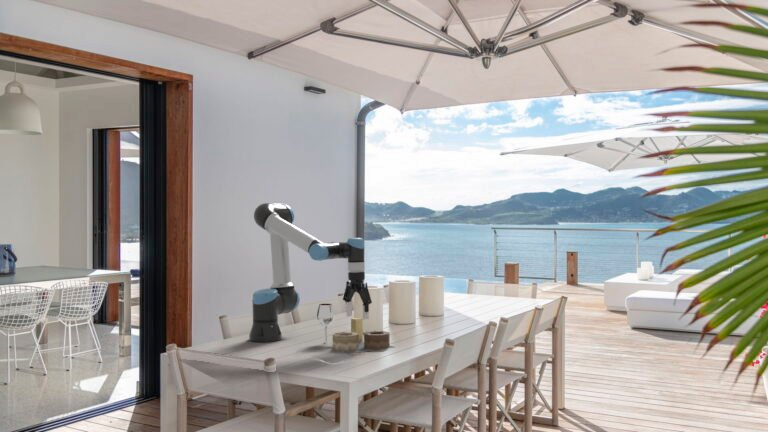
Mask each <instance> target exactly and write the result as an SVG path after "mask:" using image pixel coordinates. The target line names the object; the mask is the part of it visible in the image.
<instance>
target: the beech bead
mask: <svg viewBox="0 0 768 432" xmlns="http://www.w3.org/2000/svg"><path fill="white" fill-rule="evenodd" d="M359 343H360V342H359V335H358V333H354V332H351V331H342V332H335V333H333V334H332V347H333V349H332V350H334V349H335V351H338V350H345V351H349V350H355V349H357V348H358V347H359Z"/></svg>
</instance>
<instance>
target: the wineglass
mask: <svg viewBox="0 0 768 432" xmlns="http://www.w3.org/2000/svg"><path fill="white" fill-rule="evenodd" d="M335 316H336V315H335V311H334V308H333V304H332V303H320V304H319V305H318V307H317V312H316V320H317V322H318V323H319V324H321V325H322V326H323V328H324V342H323V344H328V341H327V340H328V337H327V335H328V334H327V332H328V331H327V329H328V327H329V326H330V325H331V324H332V323H333V322H334V320H335Z"/></svg>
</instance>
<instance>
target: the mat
mask: <svg viewBox="0 0 768 432" xmlns="http://www.w3.org/2000/svg"><path fill="white" fill-rule="evenodd" d="M327 348H328V349H332V350H335V349H333V346H328V347H327ZM394 348H395V346H394V345H393V346H392V345H390V346H389V347H388V348H384V349H383V350H388V349H394ZM380 350H382V349H368V348H365V347H364V341H362V342H359V347H358V348H357V349H355V350H349V351H345V350H337V351H338V352H342V353H345V354H348V355H354V354H361V353H367V352H373V351H380ZM335 351H336V350H335Z"/></svg>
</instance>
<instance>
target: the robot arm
mask: <svg viewBox="0 0 768 432" xmlns="http://www.w3.org/2000/svg"><path fill="white" fill-rule="evenodd" d="M253 219H254V222H255V223H256V225H257V226H259V227H260V228H261V229H263V230H265V231H266V232H267V233H268V234H269V239H270V240H269V241H270V254H271V266H272V269H271V270H272V282H273V283H272V284H271V285H270V288H262V289H261V288H260V289H258V290H256V291H254V293H253V295H252V300H251V301H252V325H251V329H250V332H249V337H248V340H249V341H250V342H254V343H269V342H270V343H272V342H278V341H280V340H282V337H283V335H282V332H281V327H280V326H279V321H278V320H279V318H278V316H279V315H282V314H288V313H291V312H294V311H295V310H296V309H297V308H298V307H299V305H300V298H301V297H300V294H299V292H297V291H298V290H296V289H295V284H293V283H292V279H291V267H290V249H289V248H290V247H289V243H291V244H292V245H294V246H295V247H298V248H299V249H301V250H302V251H304V252H306V253H308V255H309V257H310V258H311V259H312V260H314V261H317V262H318V261H319V262H321V261H325V260H335V259H337V260H338V259H347V271H348V274H347V278H348V280H347V281H346V284H345V289H344V293H343V297H342V300H343V301H344V302H345V310H346V311H345V313H346V316H345V317H353V302H352V300H353V297H354V295H355V293H357V294H358V295H359V298H360V299H361V301H362V321H363V320H365V321H366V320H369V317H370V316H369V312H370V310H369V309H370V308H369V307H370V304H372V303H373V301H372V298H371V294H370V291H369V288H368V287H369V286H368V282H363V281H364V280H365V278H366V277H365V276H366V275H365V241H364V239H363V238H362V237H349V238H348V239H347V241H346V242H339V241H338V242H337V241H331V242H324V241H321V240H320V239H317V238H316V237H315V236H313V235H311V234H309V233H307V232H306V231H304V230H303V229H300V228H299V227H297V226H296V225H294V224H293V222H294V220H295V213H294V211H293V209H292V207H291V206H289V205H288V204H286V203H282V202H281V203H280V202H278V203H277V202H275V203H267V202H266V203H261V204H259V205H258V206H257V207H256V208H255V209H254V212H253Z"/></svg>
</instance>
